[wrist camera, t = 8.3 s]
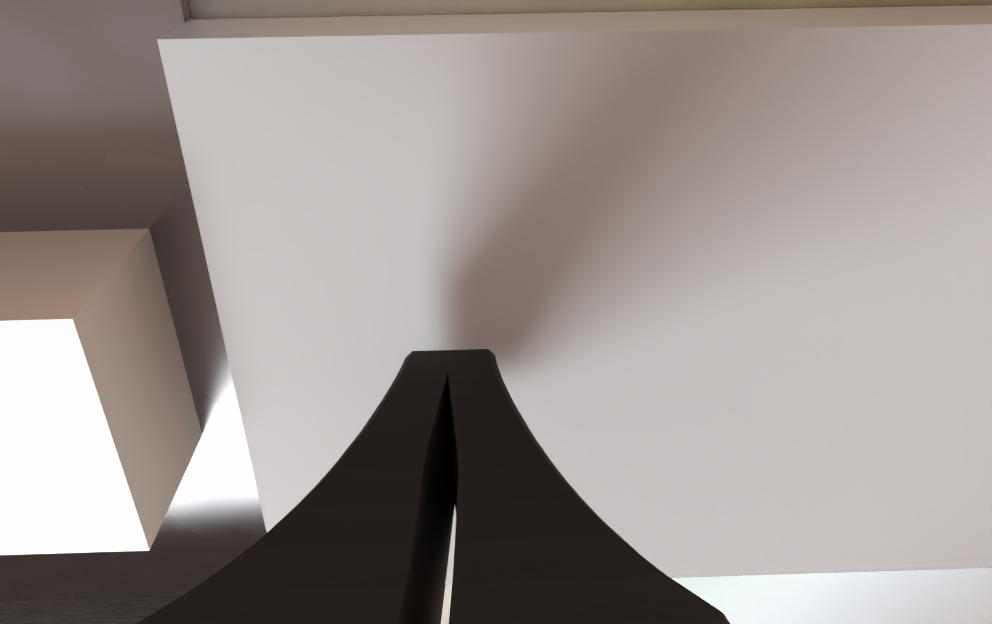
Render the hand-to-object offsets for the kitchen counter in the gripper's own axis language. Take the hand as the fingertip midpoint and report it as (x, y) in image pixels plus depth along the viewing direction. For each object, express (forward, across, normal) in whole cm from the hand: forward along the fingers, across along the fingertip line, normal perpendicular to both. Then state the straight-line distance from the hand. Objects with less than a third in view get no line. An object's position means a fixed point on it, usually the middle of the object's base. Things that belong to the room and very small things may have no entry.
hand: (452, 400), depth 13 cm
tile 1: (+2, +7, 0) cm, 8 cm away
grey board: (+2, -4, 0) cm, 5 cm away
